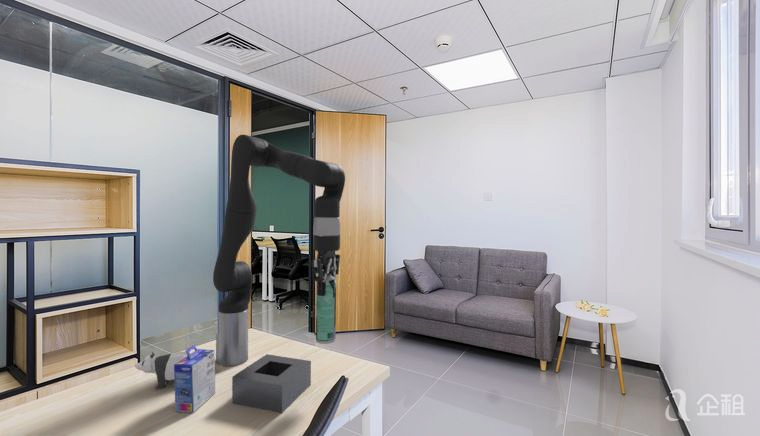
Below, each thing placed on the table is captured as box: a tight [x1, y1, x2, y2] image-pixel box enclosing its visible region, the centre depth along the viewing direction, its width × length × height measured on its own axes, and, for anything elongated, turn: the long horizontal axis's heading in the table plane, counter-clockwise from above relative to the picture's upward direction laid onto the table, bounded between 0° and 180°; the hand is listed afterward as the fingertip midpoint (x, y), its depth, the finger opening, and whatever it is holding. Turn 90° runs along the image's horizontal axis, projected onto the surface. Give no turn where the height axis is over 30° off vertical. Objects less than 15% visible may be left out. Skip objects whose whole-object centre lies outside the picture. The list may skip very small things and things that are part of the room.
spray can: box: [315, 270, 337, 345], centre depth 97 cm, size 6×6×20 cm
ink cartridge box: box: [173, 344, 216, 414], centre depth 91 cm, size 10×6×14 cm, turn 174°
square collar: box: [231, 354, 312, 414], centre depth 96 cm, size 15×15×7 cm
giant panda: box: [134, 351, 191, 390], centre depth 100 cm, size 15×6×10 cm, turn 111°
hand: (326, 292), depth 97 cm, fingers closed on spray can, 5 cm apart
